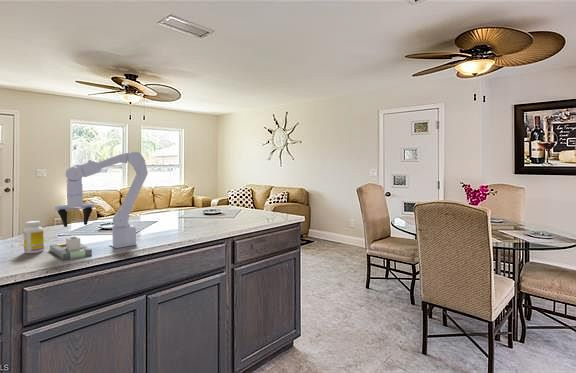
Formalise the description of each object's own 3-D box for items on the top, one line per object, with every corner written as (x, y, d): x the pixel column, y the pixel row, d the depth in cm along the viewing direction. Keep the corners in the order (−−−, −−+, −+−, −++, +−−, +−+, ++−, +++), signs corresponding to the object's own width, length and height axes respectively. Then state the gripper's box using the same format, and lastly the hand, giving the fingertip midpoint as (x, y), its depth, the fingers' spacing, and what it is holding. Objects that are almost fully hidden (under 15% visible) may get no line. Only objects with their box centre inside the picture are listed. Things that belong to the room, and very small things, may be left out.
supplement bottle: (47, 249, 144) (46, 220, 143) (36, 253, 137) (35, 223, 136) (31, 249, 143) (30, 220, 143) (20, 253, 137) (19, 223, 136)
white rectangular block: (77, 253, 139) (77, 235, 139) (80, 255, 137) (80, 236, 136) (66, 254, 136) (66, 236, 136) (69, 256, 134) (68, 238, 133)
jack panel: (76, 246, 150) (76, 241, 149) (91, 255, 136) (91, 249, 136) (49, 250, 142) (49, 244, 142) (63, 260, 129) (63, 253, 129)
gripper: (90, 193, 152) (90, 222, 153) (52, 195, 141) (53, 226, 142) (95, 194, 148) (96, 224, 148) (57, 196, 137) (58, 228, 138)
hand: (75, 225), depth 145 cm, fingers open, 7 cm apart
